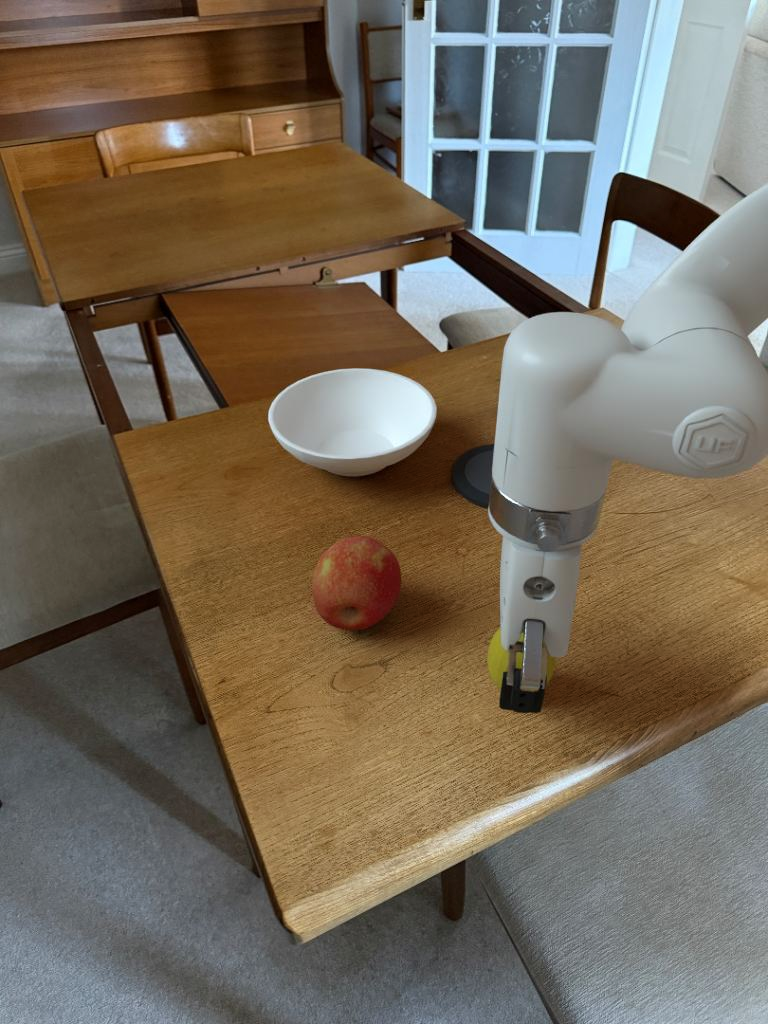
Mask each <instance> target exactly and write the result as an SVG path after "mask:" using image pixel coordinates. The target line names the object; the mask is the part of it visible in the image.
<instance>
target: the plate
mask: <svg viewBox="0 0 768 1024" xmlns="http://www.w3.org/2000/svg"><path fill="white" fill-rule="evenodd" d="M494 445H495V443H491V444H490V443H489V444H483V445H479V446H476V447H473V448H470V449H468V450H467V451H464V452H463V453H461V454H460V455H459V456H458V457H457V458H456V460H455V461H454V463H453V465H452V467H451V482H452V485H453V487H454V489H455V490H456V492H457V493H458V494H459V495H460V496H461V497H462V498H464V499H465V500H467V501H468V502H470V503H472V504H474V505H476V506H479V507H482V508H484V509H488V507H489V498H490V487H491V477H492V465H493V454H494Z"/></svg>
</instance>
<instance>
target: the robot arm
mask: <svg viewBox="0 0 768 1024" xmlns="http://www.w3.org/2000/svg"><path fill="white" fill-rule="evenodd" d="M766 320H768V182H767V183H766V184H764V185H763V186H761V187H759V188H758V189H756V190H754V191H752V192H751V193H749V194H748V195H747V196H745V197H743V198H742V199H741V200H739V201H738V202H736V203H735V204H733V206H731V207H730V208H728V209H727V210H726V211H724V212H723V213H721V215H719V216H718V218H716V219H715V220H714V221H713V222H711V223H710V224H709V225H708V226H707V227H706V228H705V229H704V230H702V232H701V233H700V234H699V235H698V236H696V237H695V238H694V240H692V241H691V242H690V244H688V246H686V247H685V249H684V250H682V251H681V252H680V253H679V255H677V257H675V258H674V260H673V261H672V262H671V263H669V265H668V266H667V267H666V268H665V269H664V270H663V271H662V272H661V273H660V274H659V275H658V276H657V277H656V278H655V279H654V280H653V281H652V282H651V283H650V284H649V286H647V288H646V289H645V290H644V292H643V293H642V294H641V295H640V296H639V297H638V299H637V300H636V301H635V302H634V304H633V306H632V307H631V309H630V310H629V312H628V314H627V316H626V318H625V319H624V321H623V323H622V326H621V328H619V327H618V326H617V325H615V324H614V323H612V322H610V321H609V320H607V319H604V318H601V317H598V316H595V315H592V314H587V313H581V312H574V311H573V312H572V311H557V312H556V311H555V312H546V313H541V314H537V315H535V316H532V317H530V318H528V319H526V320H524V321H522V322H520V323H519V324H518V325H516V327H515V328H514V329H513V330H512V331H511V332H510V333H509V336H507V339H506V342H505V344H504V347H503V354H502V361H501V371H500V380H499V381H500V383H499V393H498V404H497V414H496V426H495V434H494V435H495V437H494V444H495V445H494V454H493V465H492V477H491V487H490V498H489V507H488V508H487V514H488V518H489V522H490V523H491V525H492V527H493V528H494V529H495V530H496V532H497V533H499V534H500V535H501V536H502V543H501V554H500V568H499V569H500V570H499V608H500V609H499V614H500V615H499V619H500V622H499V623H500V627H501V645H502V647H503V648H504V649H505V650H506V651H507V652H509V655H508V667H507V671H506V672H503V678H502V685H501V690H500V693H499V701H498V706H499V708H500V710H504V711H512V712H514V713H517V714H518V713H519V714H528V713H531V714H540V713H541V712H542V709H543V703H544V697H545V693H546V688H547V685H546V683H547V676H546V668H547V656H548V652H549V654H550V656H551V657H556V658H563V657H564V656H565V655H566V654H567V653H568V652H569V651H568V650H569V646H570V645H569V644H570V639H571V632H572V625H573V619H574V615H575V608H576V601H577V594H578V586H579V579H580V572H581V571H580V570H581V560H582V549H583V548H582V546H583V545H584V544H585V543H587V542H589V540H591V539H592V538H593V537H594V536H595V534H596V532H597V531H598V528H599V523H600V520H601V516H602V510H603V507H604V501H605V497H606V493H607V488H608V483H609V480H610V475H611V470H612V467H613V462H614V460H615V461H618V462H622V463H627V464H631V465H633V466H638V467H641V468H645V469H648V470H649V469H650V470H653V471H657V472H660V473H664V474H667V475H673V476H676V477H677V476H678V477H683V478H689V479H697V480H698V479H701V480H702V479H704V480H705V479H706V480H707V479H722V478H726V477H731V476H732V477H733V476H735V475H738V474H741V473H743V472H745V471H747V470H750V469H752V468H753V467H755V466H756V465H758V464H759V463H760V462H761V461H763V460H764V459H765V458H766V457H767V456H768V372H767V370H766V368H765V366H764V364H763V363H762V361H761V359H760V357H759V355H758V353H757V351H756V349H755V347H754V345H753V343H752V341H751V339H750V338H749V336H750V335H751V334H752V333H753V332H755V330H757V328H759V326H761V325H762V324H763V323H765V321H766ZM522 632H523V633H524V639H523V641H518V640H519V639H520V638H521V634H522ZM517 652H521V653H523V657H522V669H519V668H515V667H516V655H517Z"/></svg>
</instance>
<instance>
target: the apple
mask: <svg viewBox="0 0 768 1024" xmlns="http://www.w3.org/2000/svg"><path fill="white" fill-rule="evenodd" d="M401 570H402V569H401V565H400V563H399V560H398V557H396V555H395V554H394V552H393V551H392V550H391V549H390V548H388V546H386V545H384V543H382V542H380V541H379V540H377V539H375V538H372V537H369V536H365V535H354V536H348V537H345V538H342V539H340V540H338V541H336V542H335V543H333V544H332V545H330V546H329V548H327V549H326V550H325V552H324V553H322V555H321V557H320V558H319V559H318V561H317V563H316V565H315V568H314V571H313V574H312V581H311V595H312V600H313V605H314V608H315V610H316V612H317V614H318V615H319V616H320V618H321V619H322V620H323V621H324V622H326V624H328V625H330V626H332V627H334V628H336V629H340V630H343V631H357V630H363V629H367V628H369V627H371V626H373V625H375V624H377V623H379V622H380V621H381V620H383V619H384V618H385V617H386V616H387V615H388V614H390V612H391V610H392V609H393V607H394V606H395V604H396V603H397V600H398V597H399V595H400V591H401V588H402V587H401V586H402V571H401Z"/></svg>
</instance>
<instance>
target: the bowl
mask: <svg viewBox="0 0 768 1024" xmlns="http://www.w3.org/2000/svg"><path fill="white" fill-rule="evenodd" d="M437 411H438V408H437V404H436V400H435V398H434V397H433V396H432V394H431V392H430V391H429V390H428V389H427V388H426V387H425V386H423V385H422V384H420V383H419V382H417V381H416V380H414V379H412V378H410V377H407V376H404V375H402V374H399V373H396V372H391V371H387V370H382V369H375V368H374V369H373V368H359V367H358V368H357V367H356V368H355V367H354V368H353V367H352V368H341V369H340V368H339V369H333V370H328V371H323V372H320V373H316V374H312V375H310V376H306V377H305V378H302V379H299V380H297V381H296V382H294V383H292V384H290V385H288V386H287V387H285V389H283V390H282V391H281V392H279V393H278V394H277V396H276V397H275V398H274V400H273V401H272V402H271V405H270V407H269V409H268V418H267V419H268V420H267V421H268V423H269V427H270V429H271V432H272V435H273V436H274V438H276V440H277V442H278V443H279V444H280V445H281V447H282V448H283V449H284V450H286V451H287V452H288V453H289V454H291V456H293V457H294V458H296V459H297V460H298V461H300V462H302V463H304V464H306V465H308V466H310V467H314V468H317V469H320V470H325V471H327V472H329V473H330V474H334V475H338V476H343V477H344V476H345V477H363V476H367V475H368V476H369V475H372V474H376V473H377V472H380V471H382V470H384V469H385V468H386V467H388V466H391V465H394V464H397V463H399V462H401V461H402V460H404V459H407V457H409V456H411V454H413V453H414V452H415V451H417V450H418V449H419V447H420V446H422V444H423V443H424V442H425V440H427V438H428V437H429V435H430V433H431V432H432V429H433V427H434V425H435V422H436V420H437Z"/></svg>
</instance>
